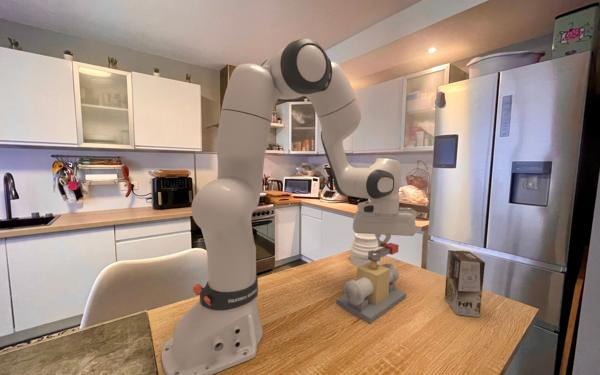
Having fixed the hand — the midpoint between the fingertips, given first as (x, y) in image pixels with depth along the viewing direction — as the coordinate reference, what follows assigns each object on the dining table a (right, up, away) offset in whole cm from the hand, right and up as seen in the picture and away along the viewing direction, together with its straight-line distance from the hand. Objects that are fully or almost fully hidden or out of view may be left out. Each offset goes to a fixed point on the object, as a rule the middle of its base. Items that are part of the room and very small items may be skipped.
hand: (382, 246), depth 83 cm
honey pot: (0, -12, +23) cm, 26 cm away
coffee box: (+20, -16, -10) cm, 28 cm away
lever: (-1, -2, -5) cm, 5 cm away
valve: (-6, -15, -7) cm, 18 cm away
